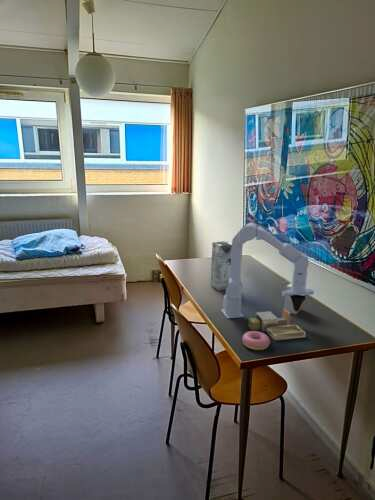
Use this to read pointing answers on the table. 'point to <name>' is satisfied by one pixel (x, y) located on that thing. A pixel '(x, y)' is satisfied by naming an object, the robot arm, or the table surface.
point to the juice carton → (220, 265)
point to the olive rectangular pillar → (255, 323)
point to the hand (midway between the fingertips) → (296, 310)
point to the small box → (290, 302)
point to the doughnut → (256, 340)
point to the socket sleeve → (267, 319)
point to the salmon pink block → (284, 318)
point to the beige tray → (285, 332)
